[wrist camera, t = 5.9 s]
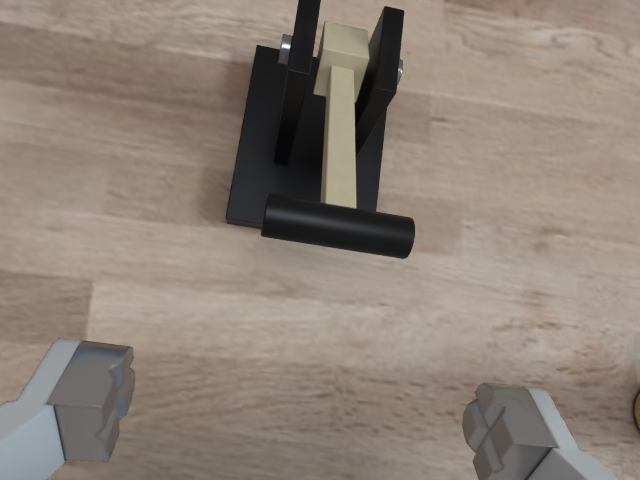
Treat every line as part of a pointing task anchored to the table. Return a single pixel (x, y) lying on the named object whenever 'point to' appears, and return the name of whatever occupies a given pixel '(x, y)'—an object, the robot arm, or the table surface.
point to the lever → (339, 164)
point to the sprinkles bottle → (637, 410)
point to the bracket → (309, 119)
